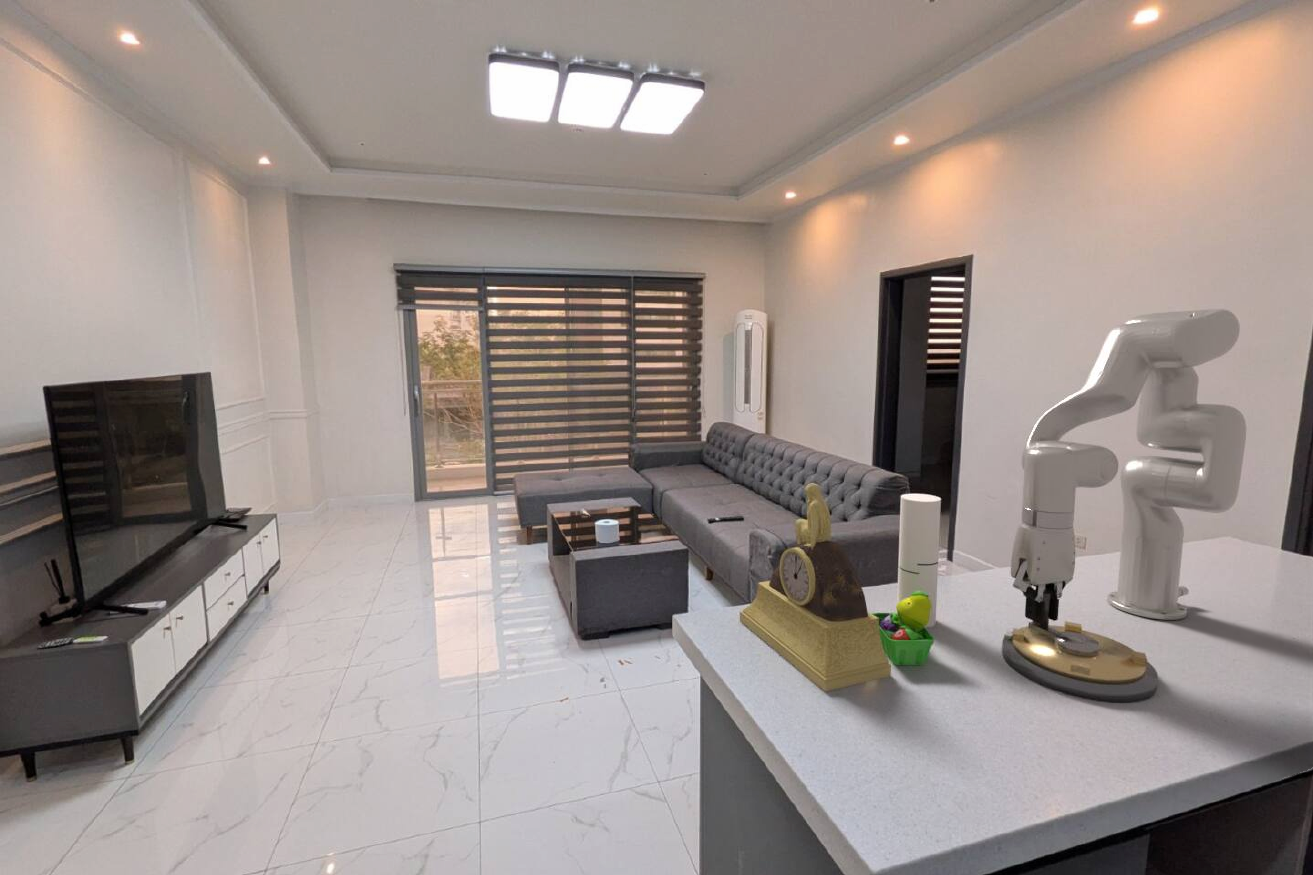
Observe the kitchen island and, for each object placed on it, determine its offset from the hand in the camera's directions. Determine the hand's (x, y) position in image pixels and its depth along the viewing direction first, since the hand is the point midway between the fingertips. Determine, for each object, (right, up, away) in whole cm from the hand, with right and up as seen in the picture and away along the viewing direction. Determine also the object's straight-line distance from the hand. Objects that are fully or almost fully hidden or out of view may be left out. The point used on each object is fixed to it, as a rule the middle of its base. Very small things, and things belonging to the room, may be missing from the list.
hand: (1041, 618), depth 104 cm
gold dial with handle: (+2, -4, -6) cm, 8 cm away
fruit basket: (-25, -6, 0) cm, 26 cm away
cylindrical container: (-16, -5, +13) cm, 22 cm away
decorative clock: (-41, -6, +3) cm, 41 cm away
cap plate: (+2, -6, -6) cm, 9 cm away
